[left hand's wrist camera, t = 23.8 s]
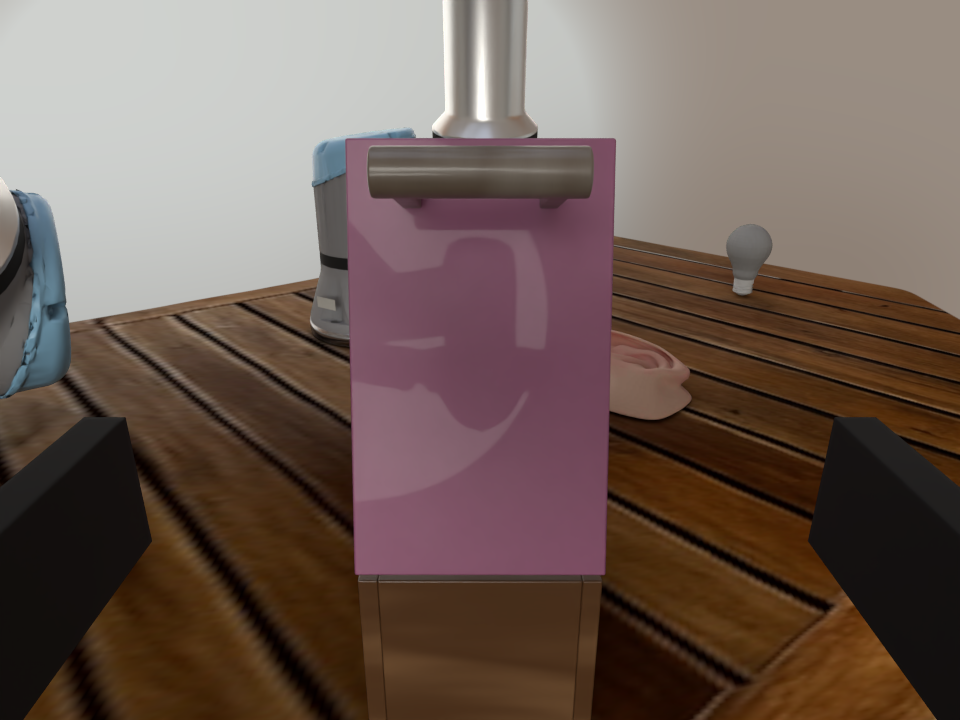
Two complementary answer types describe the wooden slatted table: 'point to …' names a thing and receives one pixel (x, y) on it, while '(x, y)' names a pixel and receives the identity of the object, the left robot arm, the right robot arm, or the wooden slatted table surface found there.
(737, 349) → the wooden slatted table surface
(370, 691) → the chest
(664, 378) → the anatomical model
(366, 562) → the lid
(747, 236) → the light bulb
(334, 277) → the right robot arm
